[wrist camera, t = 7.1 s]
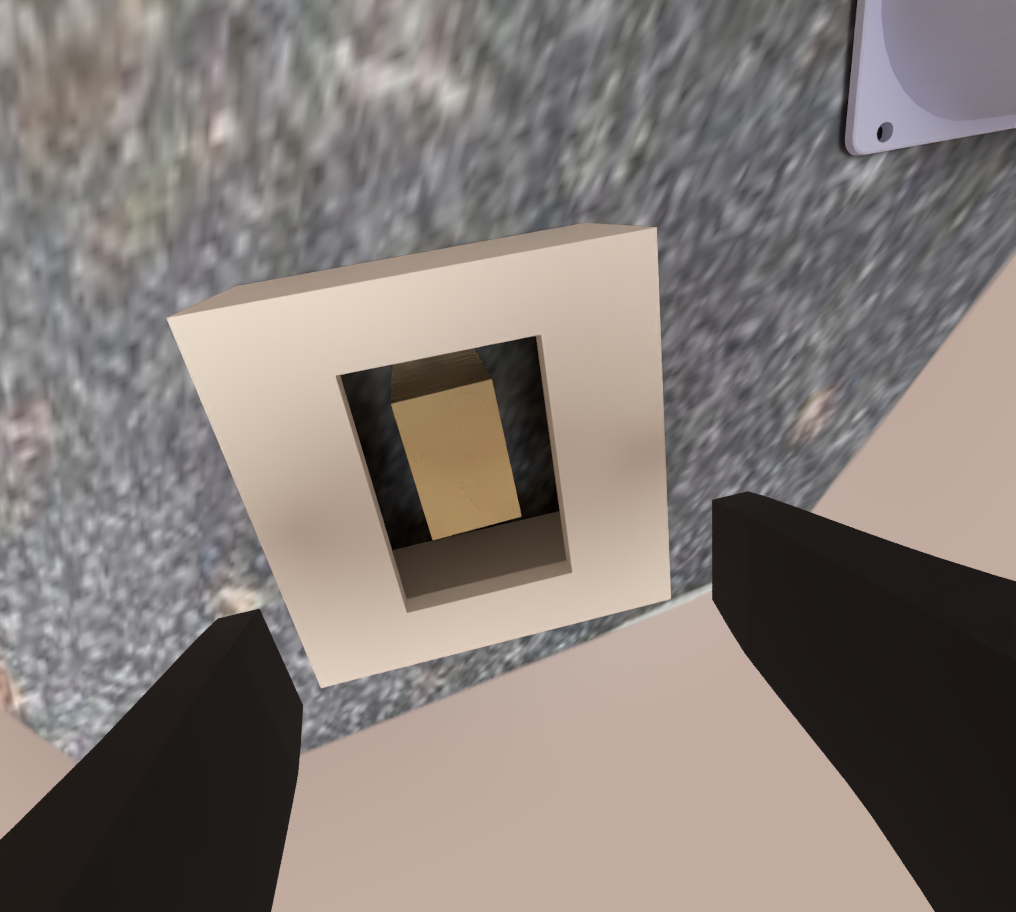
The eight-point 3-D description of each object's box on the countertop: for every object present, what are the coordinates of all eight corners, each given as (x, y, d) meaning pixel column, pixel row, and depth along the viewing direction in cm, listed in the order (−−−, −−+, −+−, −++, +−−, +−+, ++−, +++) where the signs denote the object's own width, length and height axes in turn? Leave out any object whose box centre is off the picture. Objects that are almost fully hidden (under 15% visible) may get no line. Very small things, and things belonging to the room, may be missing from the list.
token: (471, 343, 17) (491, 379, 13) (497, 458, 19) (521, 516, 15) (392, 362, 17) (391, 404, 13) (426, 476, 19) (432, 540, 15)
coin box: (584, 222, 16) (656, 226, 12) (610, 513, 20) (670, 598, 16) (235, 286, 15) (166, 318, 11) (338, 577, 19) (321, 688, 15)
